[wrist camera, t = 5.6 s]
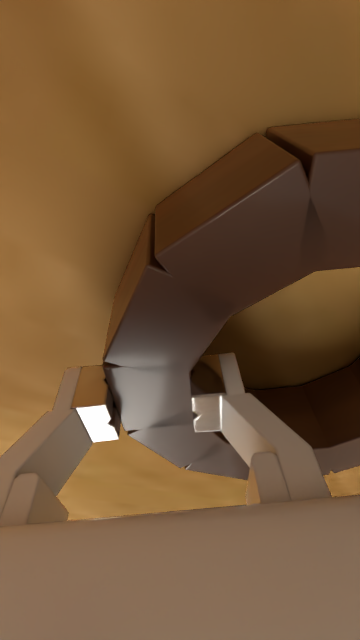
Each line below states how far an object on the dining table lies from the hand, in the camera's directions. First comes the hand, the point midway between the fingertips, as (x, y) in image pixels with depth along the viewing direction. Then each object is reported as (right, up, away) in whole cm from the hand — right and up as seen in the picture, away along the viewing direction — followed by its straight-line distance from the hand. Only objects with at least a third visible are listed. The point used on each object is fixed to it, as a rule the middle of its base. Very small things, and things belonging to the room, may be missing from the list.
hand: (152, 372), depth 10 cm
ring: (+5, +2, +1) cm, 6 cm away
